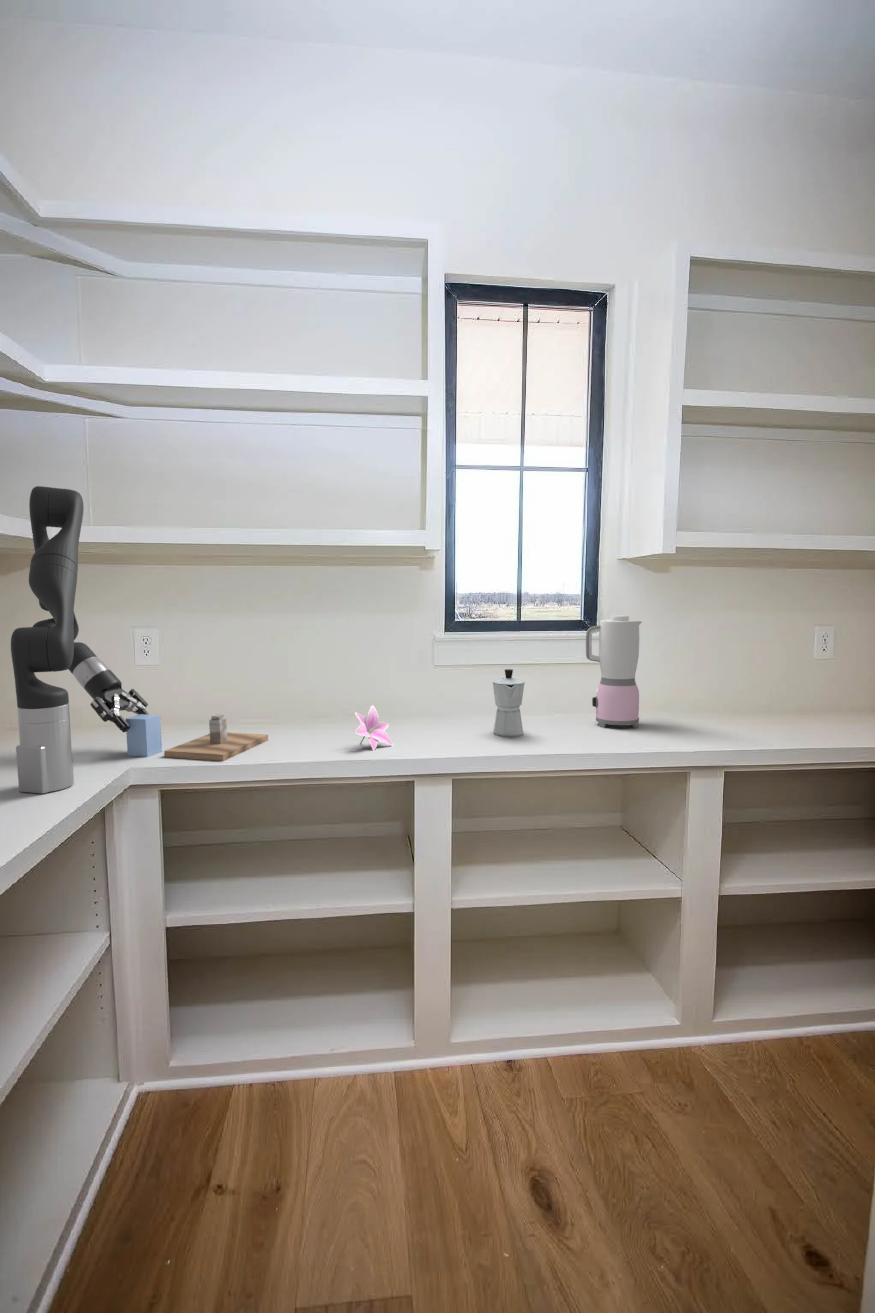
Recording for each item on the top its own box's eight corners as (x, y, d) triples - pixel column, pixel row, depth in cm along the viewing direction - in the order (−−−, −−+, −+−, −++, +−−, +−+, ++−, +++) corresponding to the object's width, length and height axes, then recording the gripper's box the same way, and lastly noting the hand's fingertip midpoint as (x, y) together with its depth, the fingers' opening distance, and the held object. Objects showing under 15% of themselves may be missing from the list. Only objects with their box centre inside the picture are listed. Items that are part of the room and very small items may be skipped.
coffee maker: (527, 738, 185) (527, 672, 183) (494, 738, 185) (494, 672, 183) (520, 726, 200) (520, 665, 198) (490, 727, 199) (490, 665, 198)
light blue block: (147, 756, 167) (145, 719, 166) (127, 755, 168) (125, 718, 167) (162, 751, 172) (160, 715, 171) (142, 750, 174) (140, 714, 173)
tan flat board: (223, 761, 163) (221, 725, 162) (164, 757, 167) (162, 722, 166) (268, 740, 184) (267, 708, 183) (215, 737, 188) (213, 706, 187)
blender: (634, 721, 207) (637, 614, 203) (643, 729, 195) (646, 616, 191) (581, 720, 208) (583, 614, 205) (586, 729, 196) (588, 616, 193)
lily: (347, 756, 171) (362, 725, 168) (337, 729, 180) (352, 699, 177) (389, 765, 177) (405, 735, 174) (377, 738, 186) (392, 709, 183)
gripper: (84, 672, 164) (128, 722, 162) (125, 665, 178) (166, 710, 176) (67, 693, 166) (110, 743, 164) (108, 684, 179) (149, 730, 178)
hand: (139, 726), depth 170 cm, fingers open, 8 cm apart
